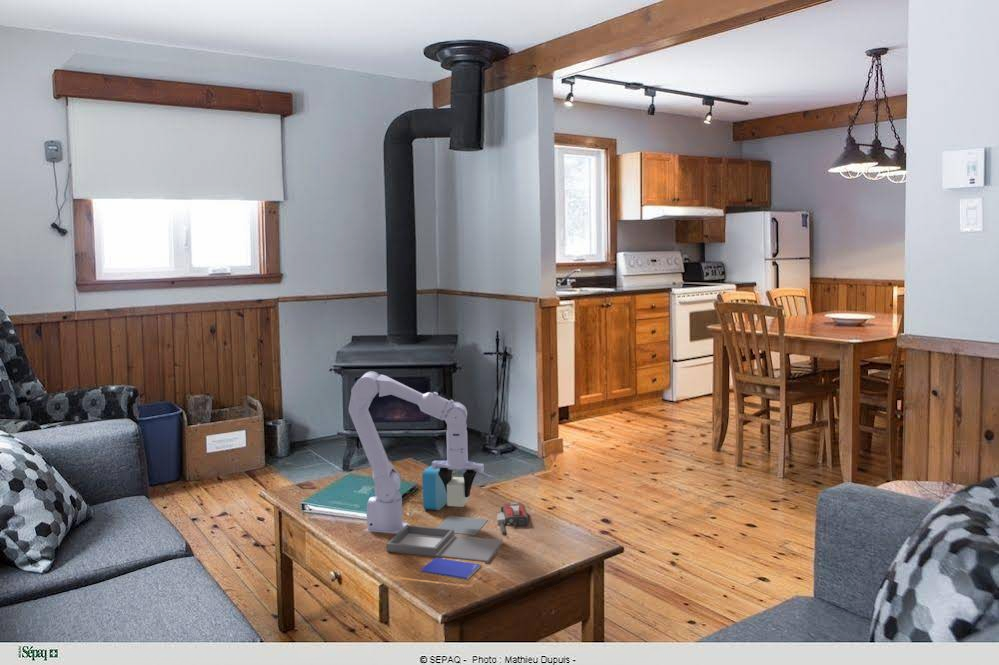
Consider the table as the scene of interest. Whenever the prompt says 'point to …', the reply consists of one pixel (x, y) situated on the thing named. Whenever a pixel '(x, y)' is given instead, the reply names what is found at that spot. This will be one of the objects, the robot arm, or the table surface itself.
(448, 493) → the block
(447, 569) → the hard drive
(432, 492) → the blue block
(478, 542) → the equipment case
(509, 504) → the walkie-talkie
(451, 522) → the slate mat
